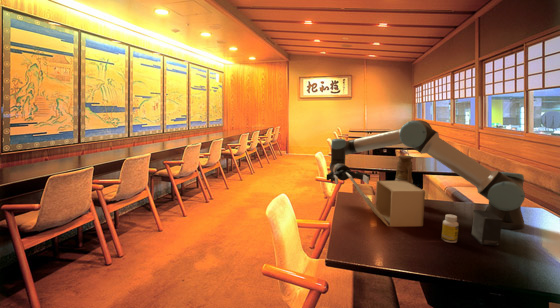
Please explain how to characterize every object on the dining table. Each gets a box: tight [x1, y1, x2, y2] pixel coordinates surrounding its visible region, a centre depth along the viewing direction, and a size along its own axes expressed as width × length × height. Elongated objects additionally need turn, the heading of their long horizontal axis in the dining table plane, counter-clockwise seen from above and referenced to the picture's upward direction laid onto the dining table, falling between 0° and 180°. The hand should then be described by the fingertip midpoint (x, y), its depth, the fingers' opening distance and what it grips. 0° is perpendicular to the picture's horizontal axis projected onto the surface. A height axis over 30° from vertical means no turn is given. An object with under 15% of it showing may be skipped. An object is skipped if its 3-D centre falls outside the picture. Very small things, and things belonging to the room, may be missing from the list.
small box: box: [470, 209, 502, 247], centre depth 123 cm, size 11×6×10 cm, turn 169°
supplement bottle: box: [441, 213, 460, 244], centre depth 123 cm, size 5×5×10 cm
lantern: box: [394, 147, 414, 184], centre depth 172 cm, size 15×10×30 cm
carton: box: [375, 180, 426, 228], centre depth 145 cm, size 14×20×16 cm
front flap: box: [346, 172, 390, 227], centre depth 144 cm, size 1×20×26 cm
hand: (352, 181), depth 140 cm, fingers open, 13 cm apart
